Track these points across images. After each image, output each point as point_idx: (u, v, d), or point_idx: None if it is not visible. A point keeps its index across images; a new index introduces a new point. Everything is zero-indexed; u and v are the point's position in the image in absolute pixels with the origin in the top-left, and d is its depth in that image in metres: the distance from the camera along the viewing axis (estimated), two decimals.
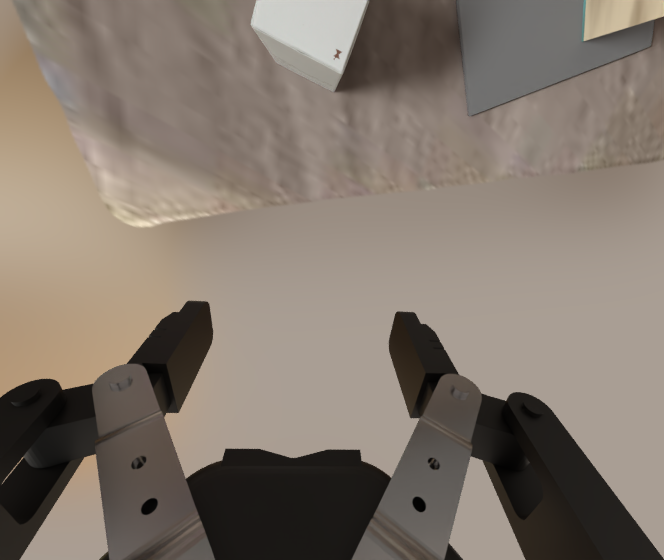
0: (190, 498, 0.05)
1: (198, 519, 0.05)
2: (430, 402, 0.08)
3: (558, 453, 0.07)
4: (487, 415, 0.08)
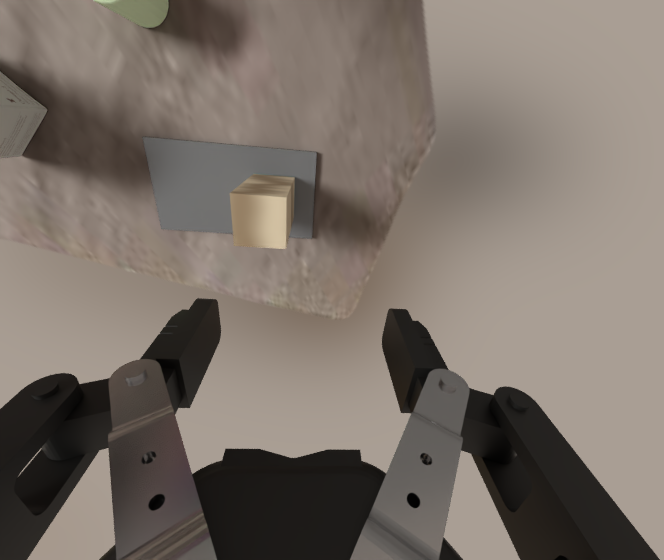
0: (196, 496, 0.05)
1: (203, 518, 0.05)
2: (420, 398, 0.08)
3: (544, 445, 0.07)
4: (475, 409, 0.08)
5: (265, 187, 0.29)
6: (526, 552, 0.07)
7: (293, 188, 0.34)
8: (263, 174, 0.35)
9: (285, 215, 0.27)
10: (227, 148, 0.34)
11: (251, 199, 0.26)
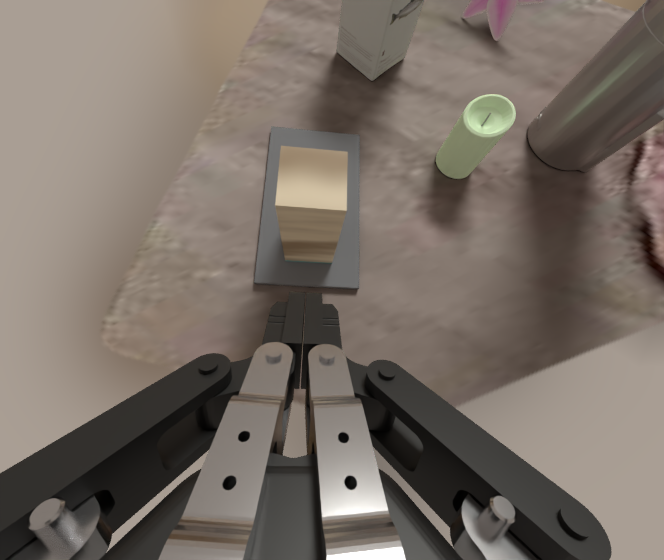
0: (255, 503, 0.05)
1: (248, 532, 0.05)
2: (311, 383, 0.08)
3: (418, 402, 0.08)
4: (350, 380, 0.09)
5: None
6: (432, 498, 0.08)
7: (323, 256, 0.29)
8: None
9: (323, 208, 0.20)
10: (355, 200, 0.33)
11: (341, 172, 0.21)
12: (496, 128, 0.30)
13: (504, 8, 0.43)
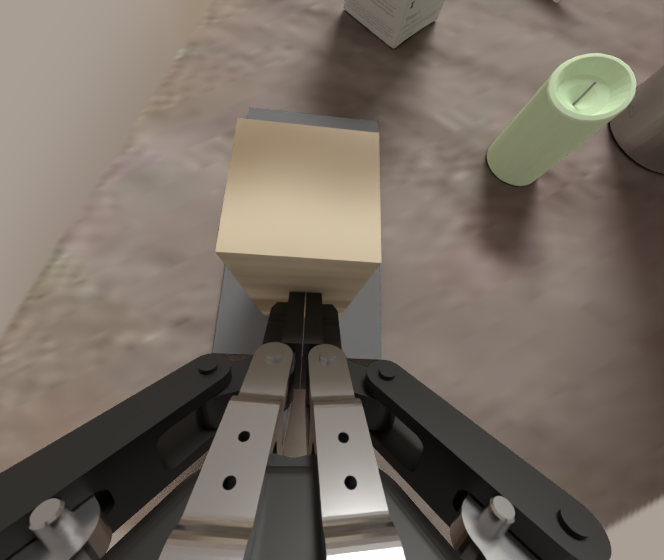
0: (255, 503, 0.05)
1: (248, 532, 0.05)
2: (311, 383, 0.08)
3: (418, 402, 0.08)
4: (350, 380, 0.09)
5: None
6: (432, 498, 0.08)
7: None
8: None
9: (327, 257, 0.09)
10: None
11: (367, 176, 0.10)
12: (600, 108, 0.19)
13: None
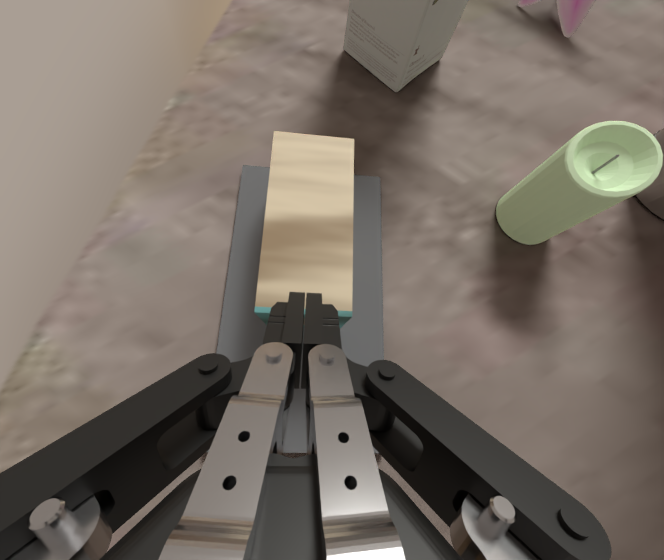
0: (255, 503, 0.05)
1: (249, 532, 0.05)
2: (311, 383, 0.08)
3: (418, 402, 0.08)
4: (350, 380, 0.09)
5: None
6: (432, 498, 0.08)
7: (334, 276, 0.15)
8: None
9: (327, 137, 0.18)
10: (376, 288, 0.21)
11: None
12: (623, 181, 0.18)
13: None
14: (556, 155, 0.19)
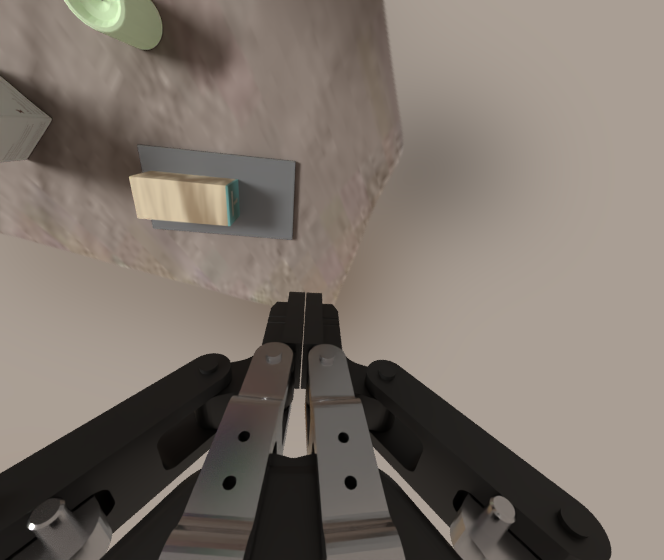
0: (255, 503, 0.05)
1: (249, 531, 0.05)
2: (311, 383, 0.08)
3: (419, 402, 0.08)
4: None
5: (169, 176, 0.36)
6: (432, 498, 0.08)
7: (210, 192, 0.35)
8: (234, 180, 0.38)
9: (132, 190, 0.34)
10: (214, 156, 0.37)
11: None
12: None
13: None
14: None
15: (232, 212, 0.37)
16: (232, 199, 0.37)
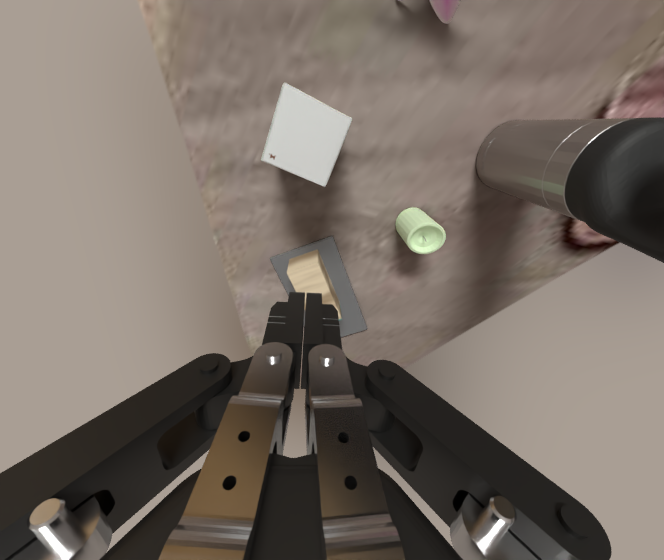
0: (255, 503, 0.05)
1: (249, 531, 0.05)
2: (311, 383, 0.08)
3: (418, 402, 0.08)
4: (350, 380, 0.09)
5: (325, 274, 0.46)
6: (432, 498, 0.08)
7: None
8: None
9: (307, 265, 0.43)
10: (348, 285, 0.50)
11: (315, 254, 0.45)
12: (432, 242, 0.40)
13: None
14: (405, 234, 0.40)
15: None
16: None
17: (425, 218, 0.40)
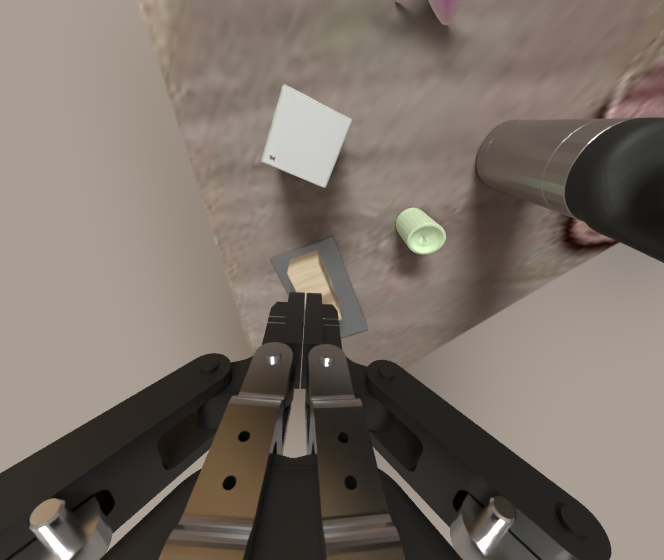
0: (255, 503, 0.05)
1: (248, 532, 0.05)
2: (311, 383, 0.08)
3: (418, 402, 0.08)
4: (350, 380, 0.09)
5: (325, 274, 0.46)
6: (432, 498, 0.08)
7: None
8: (340, 306, 0.51)
9: (307, 266, 0.43)
10: (348, 286, 0.50)
11: (315, 255, 0.45)
12: (433, 242, 0.40)
13: None
14: (406, 234, 0.41)
15: None
16: None
17: (425, 218, 0.40)
